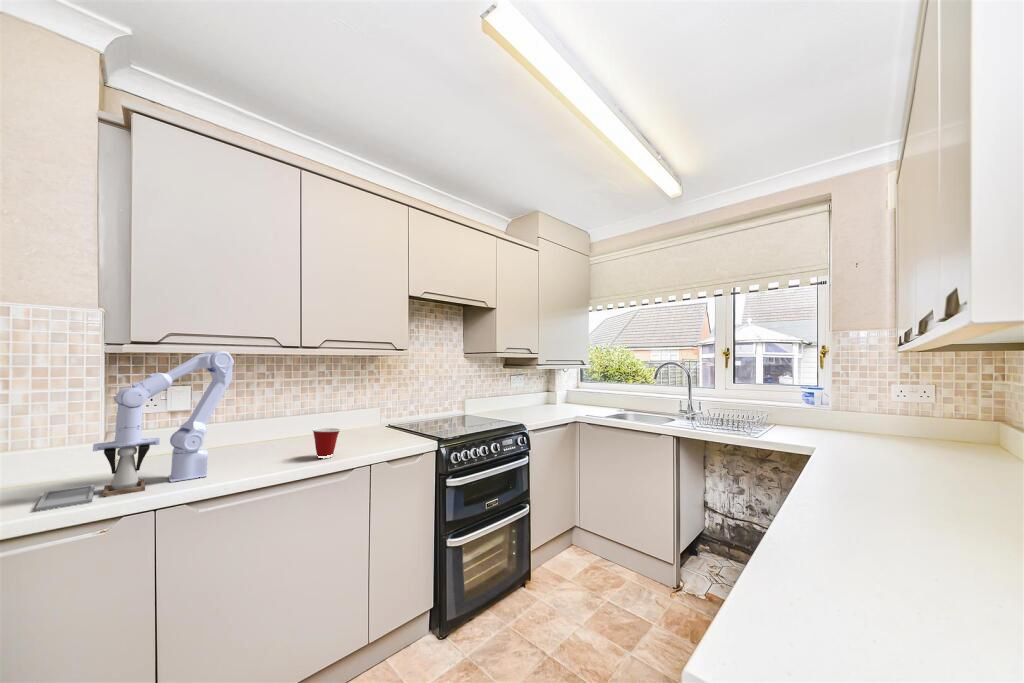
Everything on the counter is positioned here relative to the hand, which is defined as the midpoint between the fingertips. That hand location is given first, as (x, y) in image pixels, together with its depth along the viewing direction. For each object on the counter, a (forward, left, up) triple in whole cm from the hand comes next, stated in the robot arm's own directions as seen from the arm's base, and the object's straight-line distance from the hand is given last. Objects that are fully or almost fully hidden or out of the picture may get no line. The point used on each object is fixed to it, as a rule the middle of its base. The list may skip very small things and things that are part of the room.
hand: (125, 471), depth 119 cm
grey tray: (+12, 0, -6) cm, 13 cm away
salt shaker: (0, 0, -6) cm, 6 cm away
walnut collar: (0, 0, -6) cm, 6 cm away
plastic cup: (-60, -2, -6) cm, 60 cm away
